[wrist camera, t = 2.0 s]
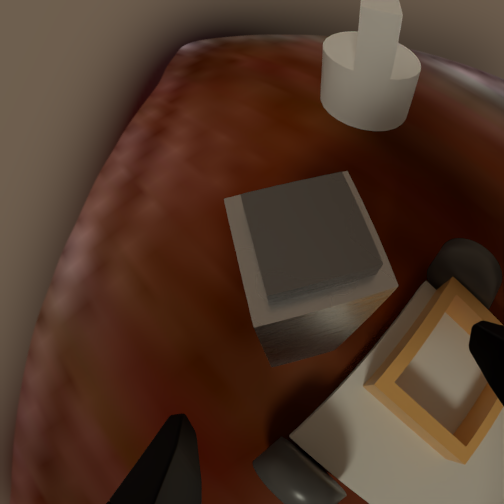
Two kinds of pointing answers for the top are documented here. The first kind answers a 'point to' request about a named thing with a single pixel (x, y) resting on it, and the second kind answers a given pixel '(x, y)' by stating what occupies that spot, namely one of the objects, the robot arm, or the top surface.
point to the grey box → (308, 264)
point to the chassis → (408, 406)
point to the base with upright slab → (370, 70)
